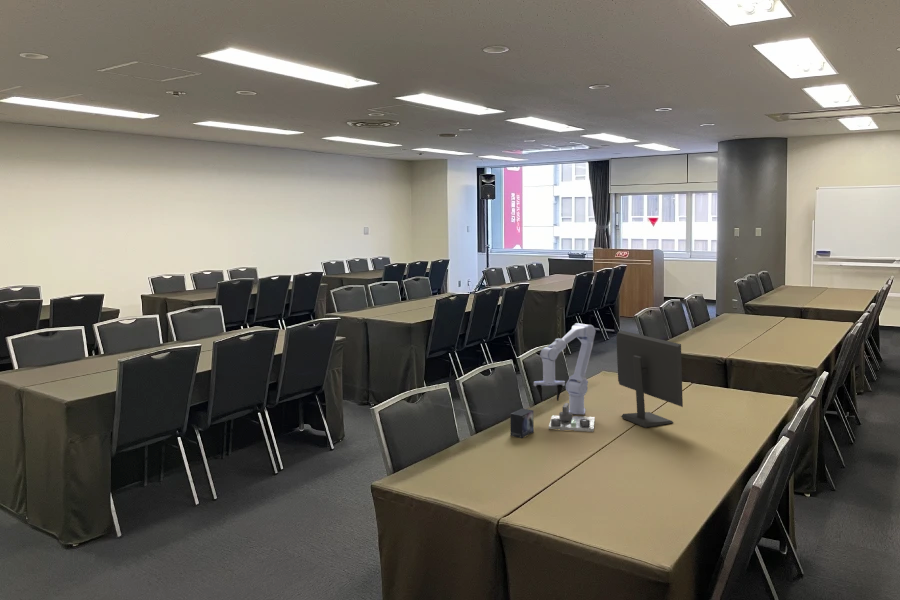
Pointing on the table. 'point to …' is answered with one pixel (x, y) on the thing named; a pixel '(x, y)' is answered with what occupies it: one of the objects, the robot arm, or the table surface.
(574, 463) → the table surface
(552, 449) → the table surface
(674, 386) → the computer monitor
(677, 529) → the table surface
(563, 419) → the knob
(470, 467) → the table surface
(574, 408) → the robot arm
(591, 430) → the plate
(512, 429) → the small box
